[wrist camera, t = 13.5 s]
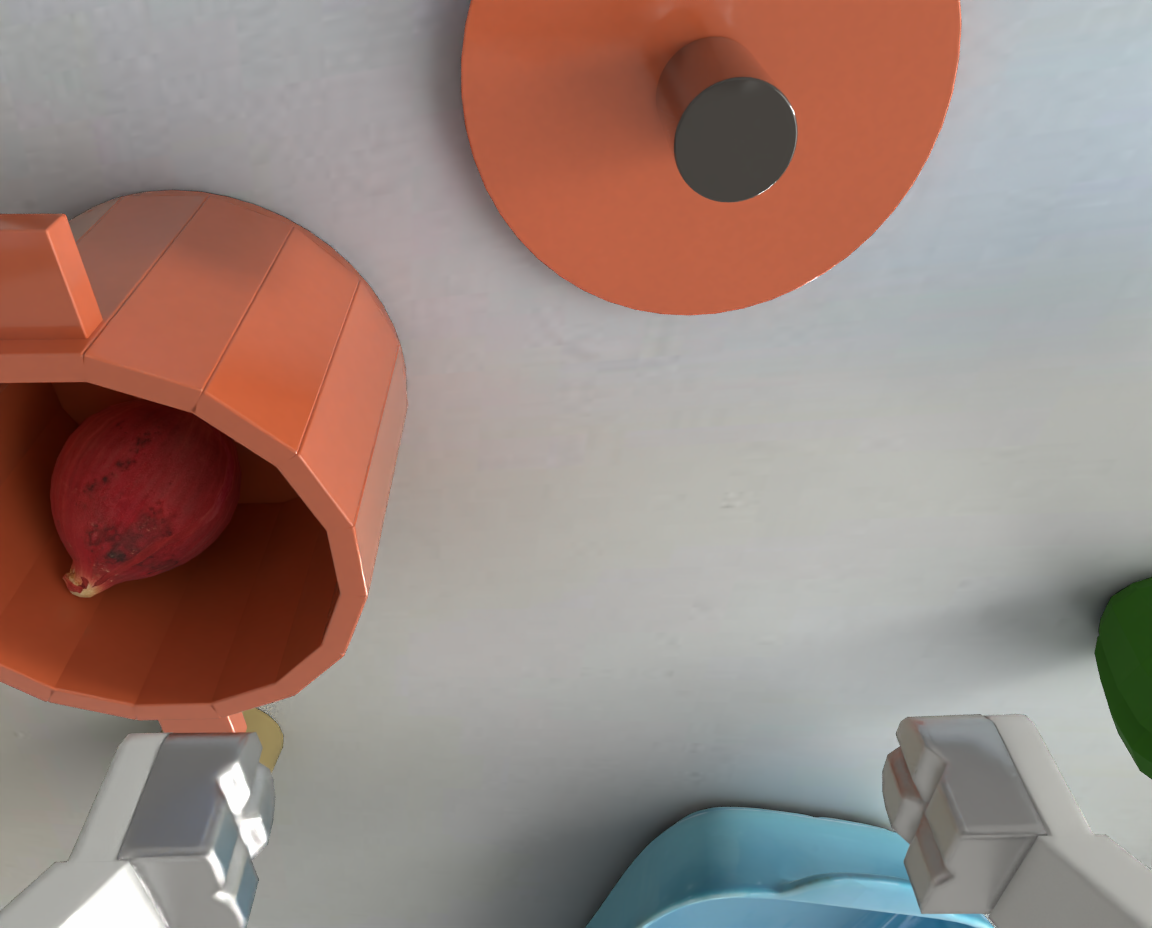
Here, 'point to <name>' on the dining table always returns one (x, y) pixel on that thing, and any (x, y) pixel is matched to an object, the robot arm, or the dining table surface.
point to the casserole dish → (770, 876)
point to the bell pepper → (1129, 668)
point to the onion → (141, 493)
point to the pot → (225, 401)
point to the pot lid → (702, 135)
